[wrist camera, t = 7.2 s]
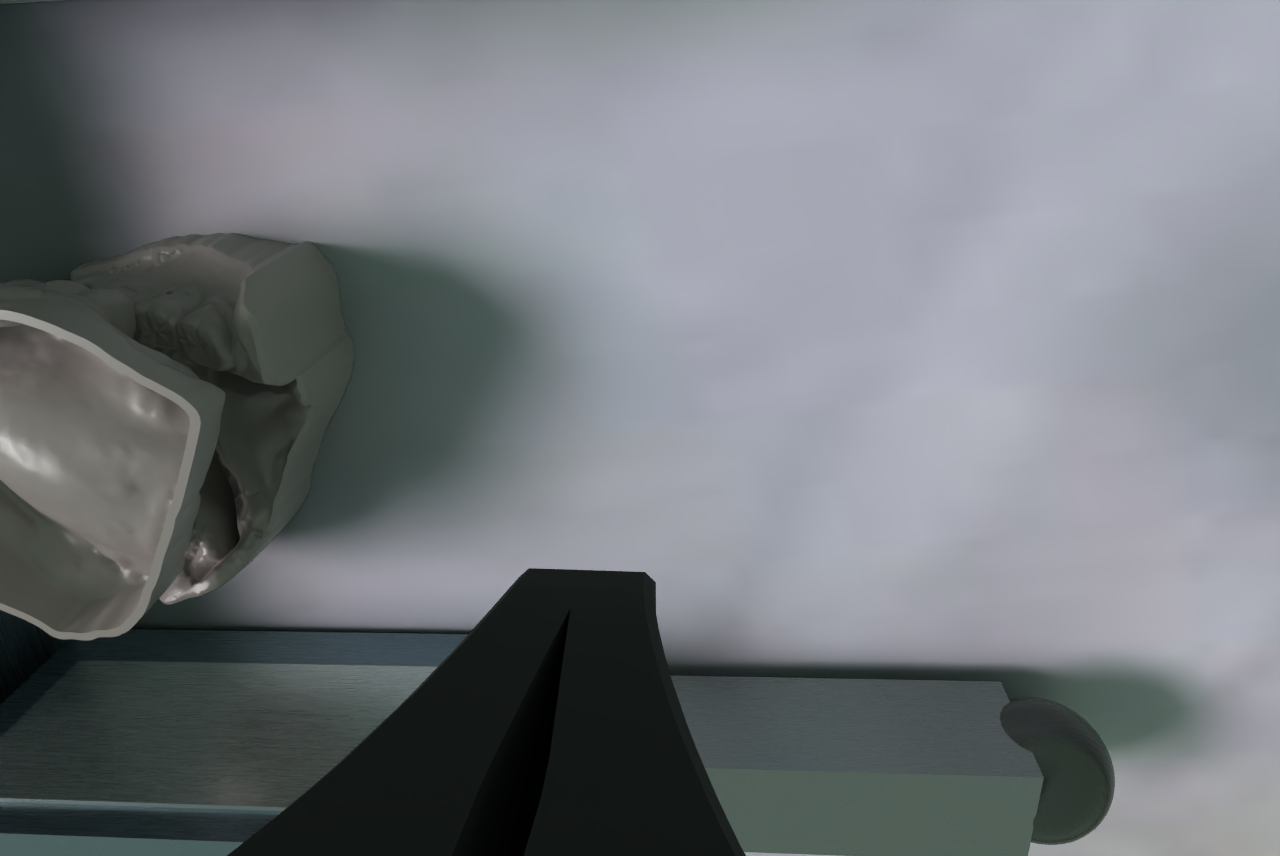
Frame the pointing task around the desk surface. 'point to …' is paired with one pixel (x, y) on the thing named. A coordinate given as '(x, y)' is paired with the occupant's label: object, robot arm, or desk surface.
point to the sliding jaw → (400, 662)
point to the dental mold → (159, 423)
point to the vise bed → (22, 626)
